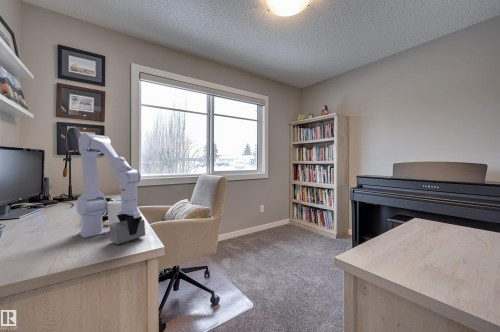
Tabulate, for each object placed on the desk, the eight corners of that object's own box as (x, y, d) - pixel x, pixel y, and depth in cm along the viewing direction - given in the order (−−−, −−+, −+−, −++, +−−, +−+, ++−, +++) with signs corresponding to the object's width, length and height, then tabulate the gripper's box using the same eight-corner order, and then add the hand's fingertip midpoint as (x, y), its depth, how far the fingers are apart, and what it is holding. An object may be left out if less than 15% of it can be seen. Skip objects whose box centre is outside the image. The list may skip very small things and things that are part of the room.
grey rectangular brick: (110, 240, 84) (109, 224, 83) (138, 232, 92) (137, 217, 91) (117, 244, 80) (115, 227, 79) (145, 235, 88) (144, 219, 87)
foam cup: (117, 233, 93) (119, 203, 94) (100, 231, 95) (102, 202, 96) (133, 228, 102) (135, 201, 103) (117, 226, 104) (119, 200, 105)
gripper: (111, 198, 87) (111, 231, 87) (125, 203, 78) (126, 239, 78) (129, 196, 93) (129, 227, 93) (145, 200, 84) (145, 234, 84)
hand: (129, 232), depth 86 cm, fingers closed on grey rectangular brick, 6 cm apart
